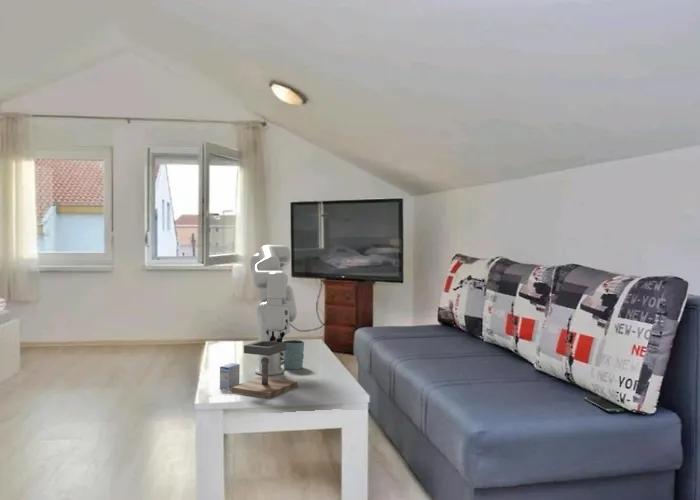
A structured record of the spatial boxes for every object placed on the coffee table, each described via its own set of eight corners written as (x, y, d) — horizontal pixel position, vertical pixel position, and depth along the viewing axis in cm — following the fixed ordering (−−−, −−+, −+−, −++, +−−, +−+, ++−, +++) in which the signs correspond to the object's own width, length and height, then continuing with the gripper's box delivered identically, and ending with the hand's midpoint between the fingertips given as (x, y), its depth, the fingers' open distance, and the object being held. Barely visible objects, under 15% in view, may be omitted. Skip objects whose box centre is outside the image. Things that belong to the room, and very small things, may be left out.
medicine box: (230, 383, 242) (230, 362, 241) (239, 384, 240) (239, 363, 240) (219, 388, 234) (219, 366, 234) (229, 389, 233) (229, 367, 232)
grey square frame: (266, 346, 244) (266, 338, 244) (291, 348, 238) (291, 341, 238) (243, 353, 230) (243, 345, 230) (269, 355, 225) (269, 348, 224)
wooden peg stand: (260, 381, 246) (261, 350, 246) (297, 386, 238) (297, 354, 238) (230, 392, 228) (230, 359, 228) (269, 398, 220) (269, 364, 220)
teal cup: (300, 370, 266) (300, 343, 266) (278, 368, 268) (279, 342, 268) (306, 365, 276) (306, 340, 276) (285, 364, 278) (286, 339, 278)
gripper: (298, 302, 239) (297, 347, 239) (265, 300, 246) (265, 344, 246) (287, 304, 232) (287, 350, 232) (254, 302, 239) (254, 347, 240)
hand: (276, 347), depth 239 cm, fingers closed on grey square frame, 2 cm apart
